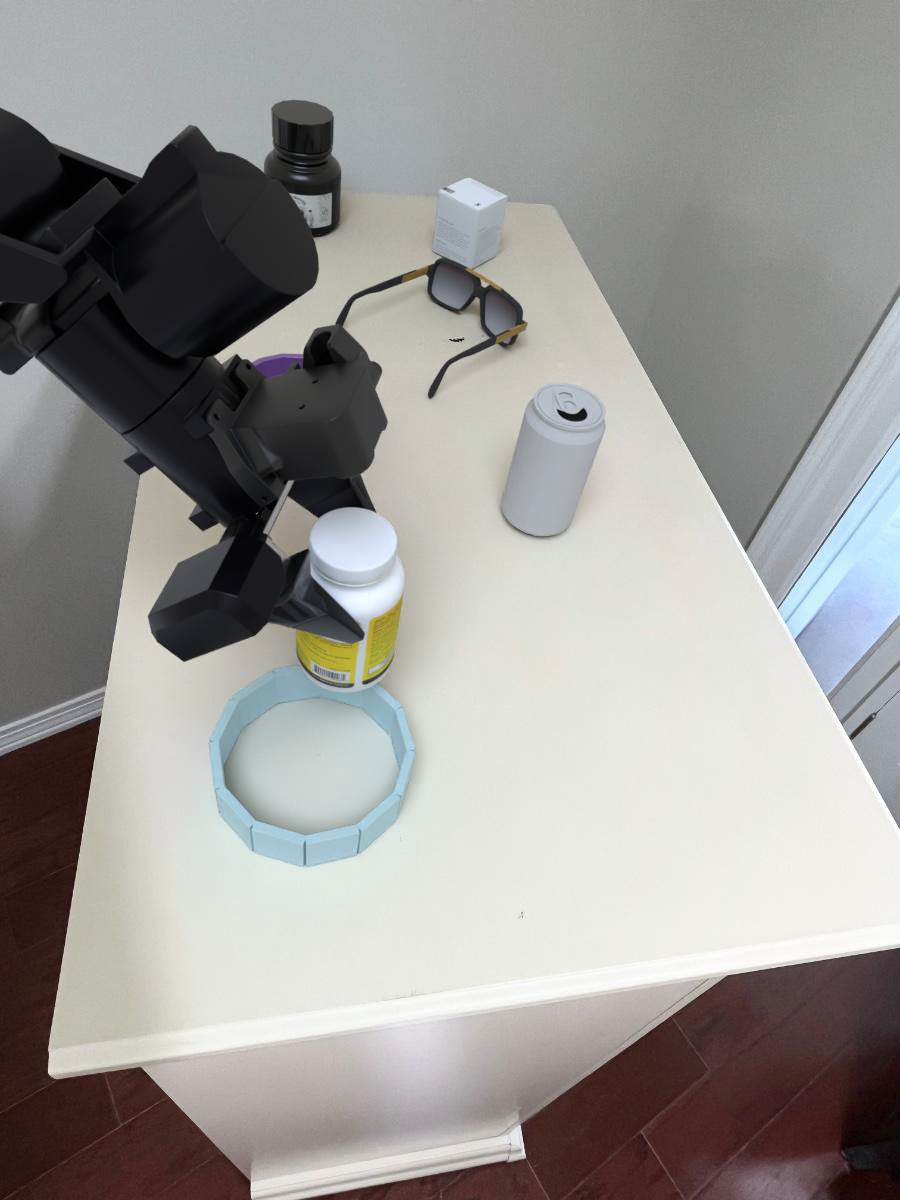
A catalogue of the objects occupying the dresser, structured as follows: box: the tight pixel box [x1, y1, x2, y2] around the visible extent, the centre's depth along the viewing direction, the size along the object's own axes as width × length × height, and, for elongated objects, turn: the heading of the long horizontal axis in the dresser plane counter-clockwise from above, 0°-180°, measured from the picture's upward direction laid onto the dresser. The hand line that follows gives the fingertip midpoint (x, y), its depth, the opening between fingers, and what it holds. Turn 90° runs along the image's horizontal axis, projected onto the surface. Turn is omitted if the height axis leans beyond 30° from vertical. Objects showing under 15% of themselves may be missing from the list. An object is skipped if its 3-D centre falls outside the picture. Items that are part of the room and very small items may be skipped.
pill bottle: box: [295, 507, 406, 693], centre depth 46 cm, size 6×6×11 cm
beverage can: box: [500, 382, 607, 537], centre depth 65 cm, size 6×6×12 cm
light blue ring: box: [208, 664, 416, 868], centre depth 50 cm, size 12×12×4 cm
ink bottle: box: [263, 99, 342, 237], centre depth 92 cm, size 10×9×12 cm
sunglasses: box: [334, 257, 529, 399], centre depth 82 cm, size 14×15×5 cm
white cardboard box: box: [431, 177, 509, 270], centre depth 94 cm, size 6×6×7 cm
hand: (373, 596), depth 45 cm, fingers closed on pill bottle, 6 cm apart
